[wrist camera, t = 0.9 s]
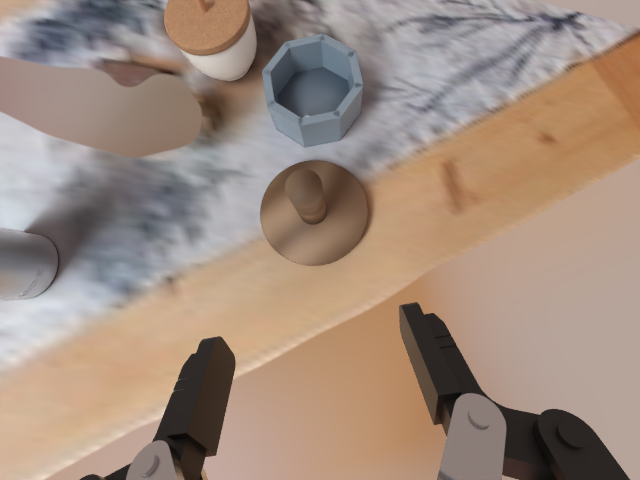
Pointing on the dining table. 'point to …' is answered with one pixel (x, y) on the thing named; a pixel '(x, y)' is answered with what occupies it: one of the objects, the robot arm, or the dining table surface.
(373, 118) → the dining table surface
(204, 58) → the lidded jar
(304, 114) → the ceramic bowl
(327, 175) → the walnut lid
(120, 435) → the dining table surface
